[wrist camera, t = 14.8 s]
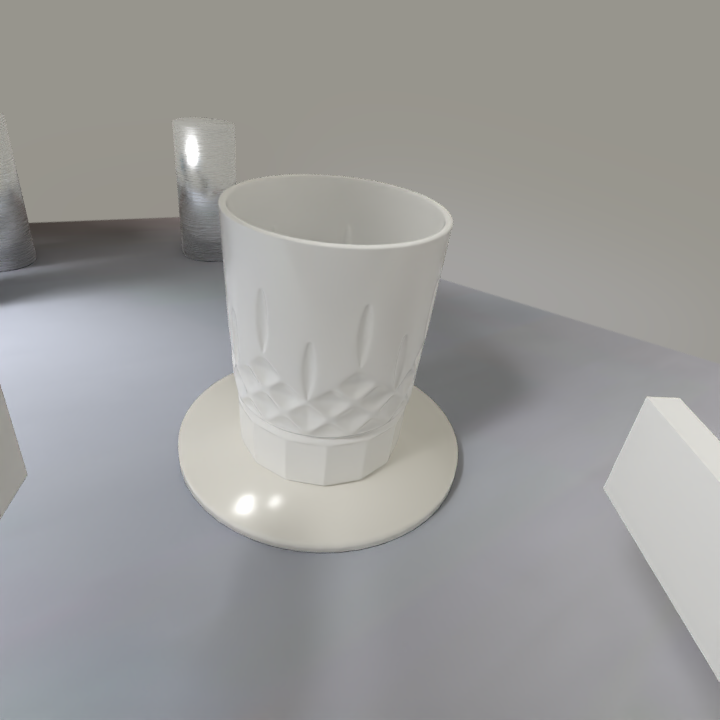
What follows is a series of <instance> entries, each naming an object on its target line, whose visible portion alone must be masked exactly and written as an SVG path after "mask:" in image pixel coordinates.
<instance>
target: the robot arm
mask: <svg viewBox="0 0 720 720" xmlns="http://www.w3.org/2000/svg"><path fill="white" fill-rule="evenodd" d="M27 475H28V474H27V471H26V468H25V464H24V461H23V458H22V454H21V451H20V448H19V445H18V441H17V438H16V435H15V431H14V428H13V425H12V422H11V418H10V415H9V412H8V408H7V405H6V402H5V398H4V395H3V392H2V389H1V385H0V519H1V517H2V516H3V514H4V512H5V511H6V509H7V508H8V506H9V504H10V503H11V501H12V499H13V498H14V496H15V494H16V493H17V491H18V490H19V488H20V486H21V485H22V483H23V481H24V480H25V478H26V477H27ZM603 489H604V490H605V492H606V494H607V495H608V497H609V499H610V500H611V502H612V504H613V505H614V507H615V509H616V510H617V512H618V514H619V515H620V517H621V519H622V520H623V522H624V524H625V525H626V527H627V529H628V530H629V532H630V534H631V535H632V537H633V539H634V540H635V542H636V544H637V545H638V547H639V549H640V550H641V552H642V554H643V555H644V557H645V559H646V560H647V562H648V564H649V565H650V567H651V569H652V570H653V572H654V574H655V575H656V577H657V579H658V580H659V582H660V584H661V585H662V587H663V589H664V591H665V592H666V594H667V596H668V597H669V599H670V601H671V602H672V604H673V606H674V607H675V609H676V611H677V612H678V614H679V616H680V617H681V619H682V621H683V622H684V624H685V626H686V627H687V629H688V631H689V632H690V634H691V636H692V637H693V639H694V641H695V642H696V644H697V646H698V647H699V649H700V651H701V652H702V654H703V656H704V657H705V659H706V661H707V662H708V664H709V666H710V667H711V669H712V671H713V672H714V674H715V676H716V677H717V679H718V681H719V682H720V441H719V440H718V439H717V438H716V437H715V436H714V434H713V433H712V432H711V431H710V430H709V429H708V428H707V427H706V426H705V425H704V424H703V423H702V422H701V420H700V419H699V418H698V417H697V416H696V415H695V414H694V413H693V412H692V411H691V410H690V409H689V408H688V407H687V405H686V404H685V403H684V402H683V401H682V400H681V399H680V398H669V397H646V399H645V401H644V403H643V405H642V407H641V409H640V411H639V414H638V416H637V418H636V420H635V422H634V424H633V426H632V428H631V430H630V433H629V435H628V437H627V439H626V441H625V443H624V445H623V447H622V449H621V452H620V454H619V456H618V458H617V460H616V462H615V464H614V466H613V468H612V471H611V473H610V475H609V477H608V479H607V481H606V483H605V485H604V487H603Z"/></svg>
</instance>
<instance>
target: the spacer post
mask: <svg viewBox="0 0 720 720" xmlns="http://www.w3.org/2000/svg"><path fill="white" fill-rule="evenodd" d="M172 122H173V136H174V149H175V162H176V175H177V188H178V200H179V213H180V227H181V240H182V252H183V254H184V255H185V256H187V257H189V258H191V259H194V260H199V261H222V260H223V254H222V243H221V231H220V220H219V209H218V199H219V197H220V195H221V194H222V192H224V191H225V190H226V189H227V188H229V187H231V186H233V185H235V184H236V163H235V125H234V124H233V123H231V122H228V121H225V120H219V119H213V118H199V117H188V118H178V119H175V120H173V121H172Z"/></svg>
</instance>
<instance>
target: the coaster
mask: <svg viewBox="0 0 720 720" xmlns="http://www.w3.org/2000/svg"><path fill="white" fill-rule="evenodd" d="M178 453H179V461H180V467H181V472H182V475H183V478H184V481H185V483H186V485H187V487H188V489H189V490H190V492H191V494H192V495H193V497H194V498H195V499H196V501H197V502H198V503H199V504H200V505H201V506H202V508H203V509H204V510H205V511H206V512H208V513H209V514H210V515H211V516H212V517H214V518H215V519H216V520H217V521H218V522H220V523H222V524H223V525H225V526H226V527H228V528H230V529H231V530H233V531H234V532H237V533H239V534H241V535H243V536H245V537H248V538H250V539H252V540H254V541H258V542H261V543H264V544H267V545H270V546H273V547H278V548H283V549H288V550H293V551H302V552H314V553H330V552H346V551H353V550H360V549H365V548H369V547H373V546H376V545H380V544H383V543H386V542H388V541H391V540H394V539H396V538H399V537H401V536H403V535H404V534H406V533H408V532H410V531H412V530H413V529H415V528H417V527H418V526H419V525H421V524H422V523H423V522H425V521H426V520H427V519H428V518H430V517H431V515H432V514H433V513H434V512H435V511H436V510H437V509H438V508H439V507H440V506H441V504H442V503H443V501H444V500H445V498H446V497H447V495H448V493H449V490H450V488H451V486H452V483H453V480H454V476H455V472H456V467H457V462H458V446H457V441H456V436H455V434H454V431H453V428H452V426H451V424H450V422H449V421H448V419H447V417H446V415H445V414H444V413H443V411H442V410H441V409H440V408H439V406H438V405H437V404H436V403H435V402H434V401H433V400H432V399H431V398H430V397H429V396H428V395H426V394H425V393H424V392H422V391H421V390H420V389H419V388H417V387H416V386H414V385H413V389H412V392H411V396H410V399H409V401H408V403H407V405H406V408H405V412H404V417H403V421H402V426H401V430H400V435H399V439H398V441H397V444H396V446H395V448H394V450H393V452H392V454H391V456H390V458H389V460H388V462H387V463H386V464H385V465H383V466H381V467H380V468H378V469H377V470H375V471H374V472H372V473H370V474H369V475H367V476H366V477H364V478H362V479H361V480H356V481H351V482H345V483H339V484H333V485H327V486H320V485H314V484H308V483H302V482H296V481H290V480H285V479H283V478H282V477H280V476H278V475H277V474H275V473H273V472H271V471H270V470H268V469H266V468H264V467H263V466H261V465H259V464H258V463H256V462H255V460H254V458H253V457H252V455H251V453H250V452H249V450H248V449H247V447H246V445H245V444H244V442H243V440H242V437H241V426H240V412H239V398H238V389H237V385H236V381H235V376H234V373H232V374H230V375H228V376H226V377H224V378H222V379H221V380H219V381H217V382H216V383H214V384H213V385H212V386H210V387H209V388H208V389H207V390H205V391H204V392H203V393H202V394H201V395H200V396H199V397H198V398H197V399H196V400H195V401H194V403H193V404H192V405H191V407H190V408H189V410H188V411H187V413H186V415H185V417H184V419H183V421H182V424H181V427H180V431H179V437H178Z"/></svg>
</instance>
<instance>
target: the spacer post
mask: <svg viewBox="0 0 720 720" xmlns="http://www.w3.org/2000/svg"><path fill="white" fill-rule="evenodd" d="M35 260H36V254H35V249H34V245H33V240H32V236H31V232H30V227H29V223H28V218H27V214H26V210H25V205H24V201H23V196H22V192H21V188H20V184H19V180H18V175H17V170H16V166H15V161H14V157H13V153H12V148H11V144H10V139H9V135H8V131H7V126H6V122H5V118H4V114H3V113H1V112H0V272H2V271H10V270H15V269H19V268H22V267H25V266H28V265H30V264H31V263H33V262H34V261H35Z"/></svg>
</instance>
